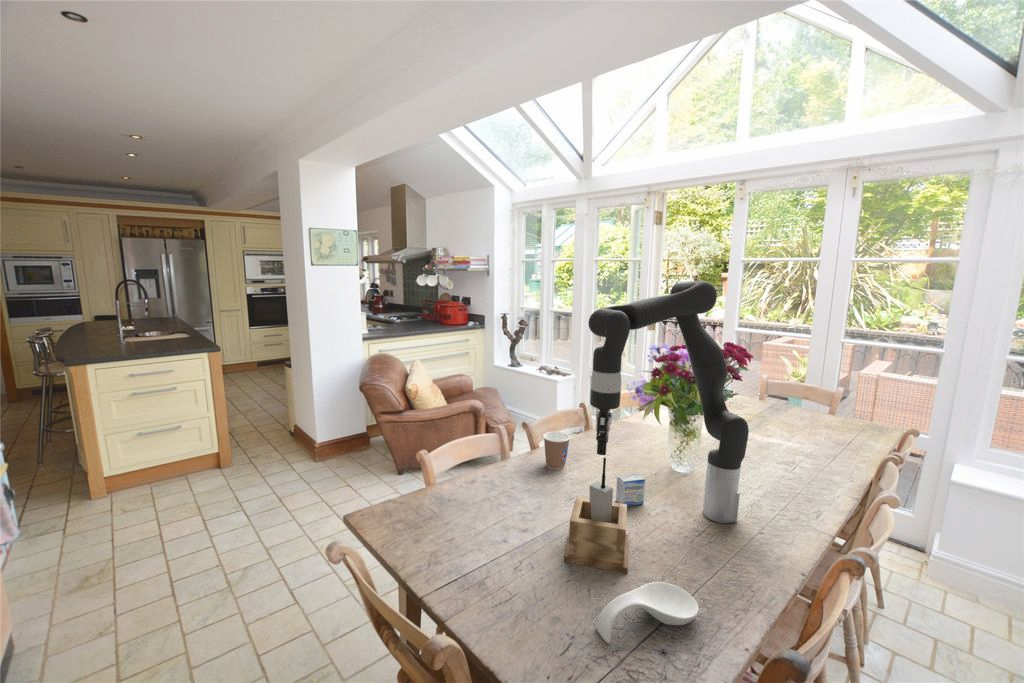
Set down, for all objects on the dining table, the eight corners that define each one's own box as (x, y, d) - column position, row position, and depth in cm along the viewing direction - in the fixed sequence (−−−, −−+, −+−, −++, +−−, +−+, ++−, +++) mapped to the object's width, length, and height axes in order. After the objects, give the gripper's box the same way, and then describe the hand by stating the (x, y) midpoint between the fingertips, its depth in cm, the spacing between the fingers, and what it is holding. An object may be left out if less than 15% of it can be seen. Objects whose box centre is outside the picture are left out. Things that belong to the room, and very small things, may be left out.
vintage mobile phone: (594, 537, 125) (599, 452, 121) (609, 545, 121) (615, 458, 117) (586, 542, 122) (590, 455, 118) (601, 551, 118) (606, 462, 114)
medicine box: (622, 507, 144) (623, 481, 143) (615, 500, 148) (616, 475, 147) (643, 504, 146) (645, 479, 145) (636, 497, 150) (638, 473, 149)
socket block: (628, 539, 127) (630, 503, 125) (627, 573, 112) (629, 532, 111) (571, 529, 131) (573, 494, 129) (563, 561, 116) (565, 522, 115)
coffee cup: (567, 473, 167) (569, 442, 166) (540, 470, 169) (541, 439, 168) (569, 461, 177) (571, 432, 175) (544, 459, 179) (545, 430, 177)
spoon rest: (670, 590, 107) (672, 562, 106) (709, 626, 96) (712, 596, 95) (585, 618, 98) (587, 589, 97) (618, 661, 87) (621, 629, 86)
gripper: (619, 396, 107) (616, 461, 109) (621, 382, 120) (618, 440, 123) (587, 393, 109) (585, 457, 111) (593, 380, 122) (590, 437, 125)
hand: (602, 448), depth 117 cm, fingers open, 8 cm apart
